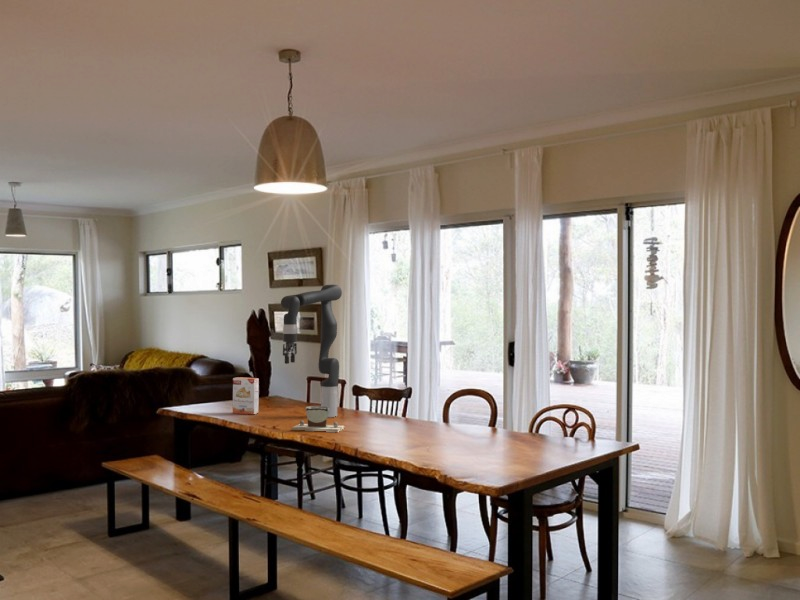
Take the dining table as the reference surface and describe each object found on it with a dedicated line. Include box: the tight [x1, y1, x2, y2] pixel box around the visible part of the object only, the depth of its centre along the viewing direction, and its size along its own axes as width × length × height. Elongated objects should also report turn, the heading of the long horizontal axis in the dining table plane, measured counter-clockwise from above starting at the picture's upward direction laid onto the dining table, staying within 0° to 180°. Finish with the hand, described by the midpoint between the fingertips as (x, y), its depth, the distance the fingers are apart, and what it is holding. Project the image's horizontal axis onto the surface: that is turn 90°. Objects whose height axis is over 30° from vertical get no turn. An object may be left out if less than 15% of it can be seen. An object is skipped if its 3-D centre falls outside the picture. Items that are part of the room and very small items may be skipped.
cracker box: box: [232, 376, 260, 415], centre depth 396 cm, size 14×6×21 cm, turn 73°
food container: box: [304, 405, 329, 427], centre depth 347 cm, size 12×6×10 cm, turn 83°
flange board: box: [291, 420, 345, 433], centre depth 346 cm, size 12×24×4 cm, turn 78°
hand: (289, 363), depth 367 cm, fingers open, 8 cm apart
